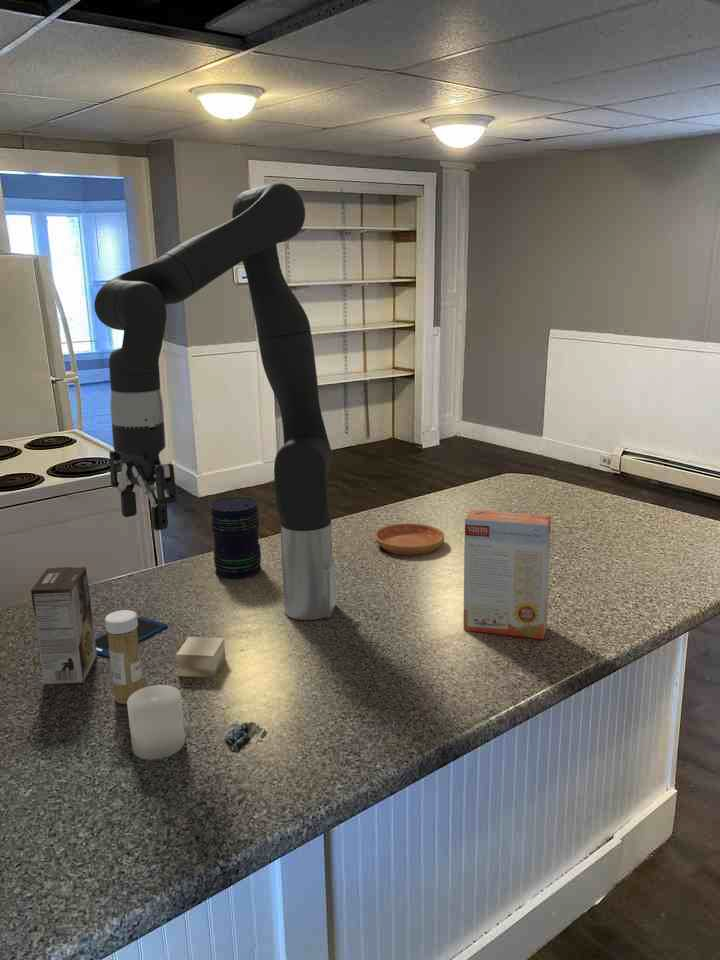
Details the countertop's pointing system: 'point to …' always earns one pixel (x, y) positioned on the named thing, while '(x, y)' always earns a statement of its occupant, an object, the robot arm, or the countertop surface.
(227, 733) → the blueberries
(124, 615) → the sprinkles bottle
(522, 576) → the cracker box
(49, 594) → the coffee box
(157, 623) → the cell phone
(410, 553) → the saucer
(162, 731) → the cream canister
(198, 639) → the maple block
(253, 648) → the countertop surface
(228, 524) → the storage jar
